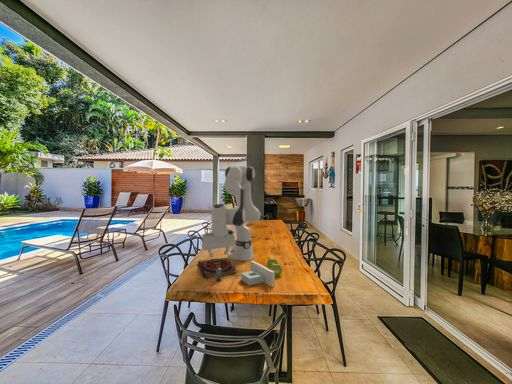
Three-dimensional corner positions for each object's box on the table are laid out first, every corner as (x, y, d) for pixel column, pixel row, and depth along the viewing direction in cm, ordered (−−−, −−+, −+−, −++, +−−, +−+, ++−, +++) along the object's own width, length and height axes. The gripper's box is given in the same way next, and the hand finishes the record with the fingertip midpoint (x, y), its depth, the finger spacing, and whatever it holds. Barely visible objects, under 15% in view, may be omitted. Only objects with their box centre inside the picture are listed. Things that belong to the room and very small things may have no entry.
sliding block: (241, 279, 149) (241, 273, 149) (255, 276, 154) (255, 270, 154) (249, 285, 141) (249, 278, 140) (264, 282, 146) (264, 275, 146)
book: (198, 265, 180) (197, 258, 179) (227, 261, 186) (226, 255, 186) (203, 279, 153) (203, 271, 153) (237, 274, 160) (236, 267, 160)
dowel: (215, 280, 149) (215, 268, 149) (219, 279, 150) (220, 267, 150) (217, 281, 146) (217, 269, 146) (222, 280, 148) (222, 268, 148)
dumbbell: (266, 268, 172) (266, 257, 171) (277, 268, 172) (277, 257, 172) (270, 277, 155) (270, 265, 155) (282, 276, 156) (282, 265, 156)
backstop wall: (250, 273, 160) (250, 261, 160) (253, 273, 161) (253, 260, 161) (271, 286, 140) (271, 272, 140) (274, 286, 141) (274, 271, 141)
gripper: (204, 234, 139) (204, 259, 139) (236, 231, 151) (236, 254, 151) (200, 232, 144) (199, 256, 144) (231, 229, 156) (231, 252, 156)
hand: (218, 255), depth 148 cm, fingers open, 8 cm apart
